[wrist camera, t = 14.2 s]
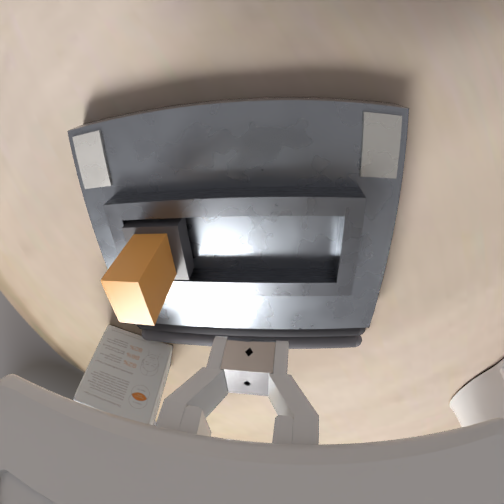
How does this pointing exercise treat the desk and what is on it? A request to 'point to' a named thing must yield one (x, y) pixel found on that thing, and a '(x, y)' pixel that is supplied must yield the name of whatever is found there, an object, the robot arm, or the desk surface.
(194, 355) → the desk surface
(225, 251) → the breaker panel
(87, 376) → the small box
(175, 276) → the lever
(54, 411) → the robot arm
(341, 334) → the twin grey rods
